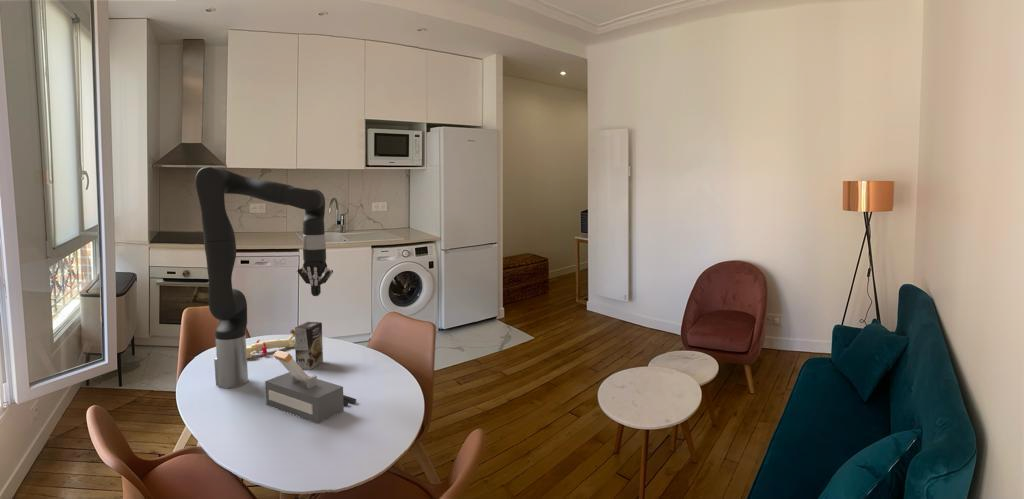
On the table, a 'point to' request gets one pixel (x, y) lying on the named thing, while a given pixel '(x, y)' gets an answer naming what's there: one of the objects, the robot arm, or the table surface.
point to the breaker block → (306, 397)
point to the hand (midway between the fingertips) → (316, 295)
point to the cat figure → (270, 345)
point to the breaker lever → (291, 365)
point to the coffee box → (309, 345)
